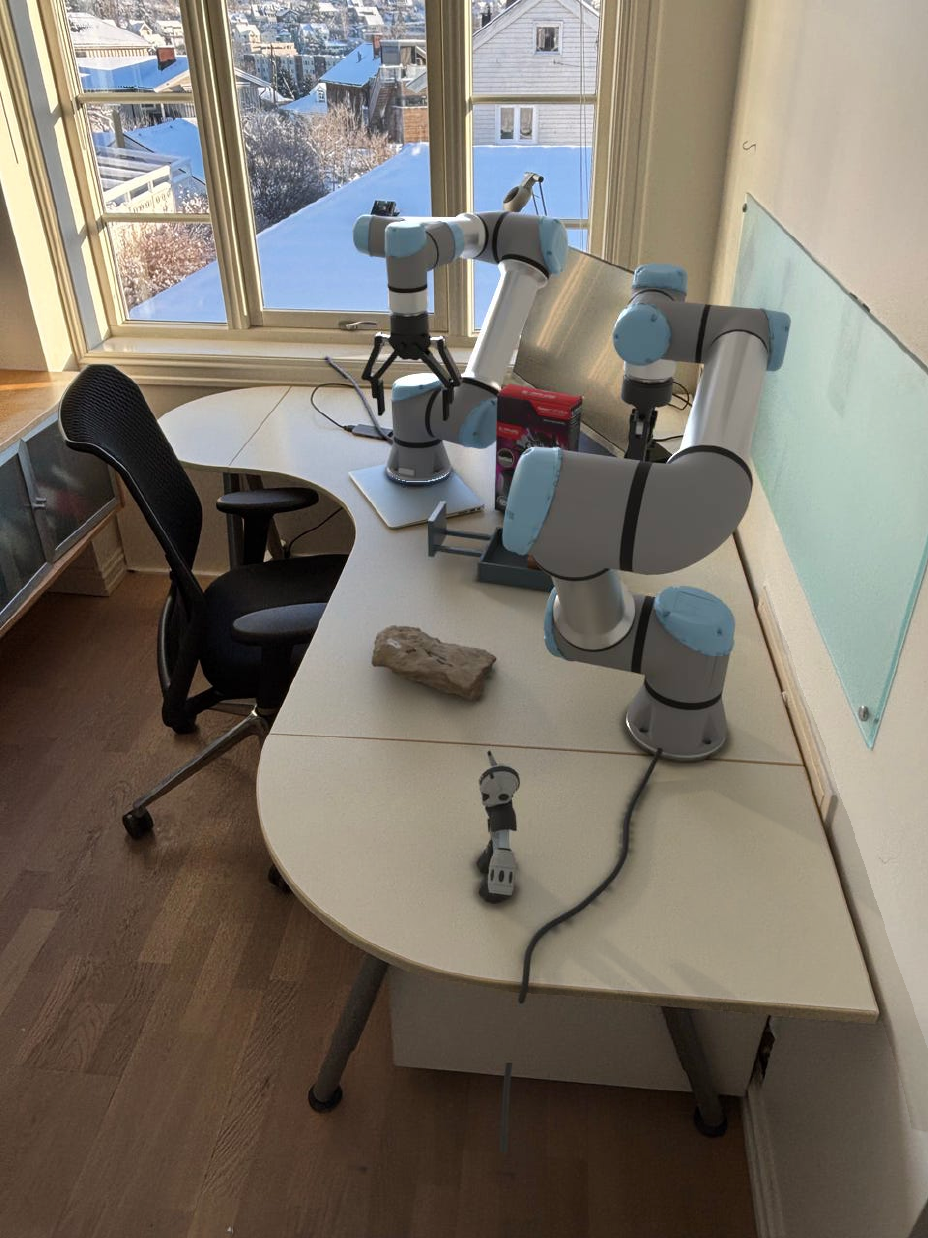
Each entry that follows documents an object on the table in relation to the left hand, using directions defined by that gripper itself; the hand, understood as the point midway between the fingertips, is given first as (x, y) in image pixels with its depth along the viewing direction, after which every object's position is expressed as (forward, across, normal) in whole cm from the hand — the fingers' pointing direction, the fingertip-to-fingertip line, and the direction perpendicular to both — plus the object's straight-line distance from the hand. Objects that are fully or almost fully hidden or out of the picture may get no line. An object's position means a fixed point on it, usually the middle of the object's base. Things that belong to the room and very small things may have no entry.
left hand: (413, 415), depth 187 cm
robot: (+21, -34, +94) cm, 103 cm away
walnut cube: (+23, -30, +20) cm, 43 cm away
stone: (+22, -16, +54) cm, 61 cm away
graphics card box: (+24, -24, -7) cm, 35 cm away
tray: (+23, -20, +15) cm, 35 cm away
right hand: (-4, -46, +36) cm, 59 cm away
